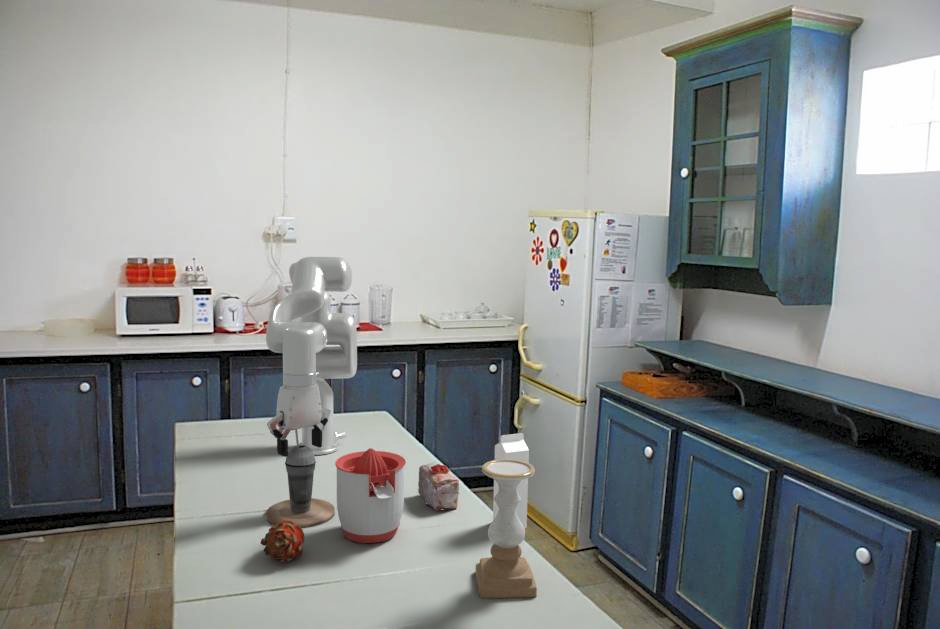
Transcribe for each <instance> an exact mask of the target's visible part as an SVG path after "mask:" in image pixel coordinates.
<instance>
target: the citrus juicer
mask: <svg viewBox="0 0 940 629" xmlns="http://www.w3.org/2000/svg"><path fill="white" fill-rule="evenodd" d="M406 463H407V462H406V458H404V457H403V456H402V455H400V454H397V453H395V452H394V453H393V452H389V451H384V450H382V451H380V450H375V449H374V448H372V447H370V448H368V449H367V450H364V451H356V452H350V453H348V454H344V455H342V456H340V457H338V458H336V461H335V464H334V465H335V466H336V467H335V468H336V509H337V515H338V519H339V522H340V527H341V530H342V532H343V535H344V536H345V537H346V538H347V539H348V540H350V541H353V542H356V543H358V544H374V543H380V542H384V541H388V540H390V539H392V538H393V537H395V535H396V534H397V532H398V529H399V526H400V524H401V519H402V515H403V511H404V506H405V465H406Z"/></svg>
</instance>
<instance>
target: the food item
mask: <svg viewBox="0 0 940 629" xmlns="http://www.w3.org/2000/svg"><path fill="white" fill-rule="evenodd" d="M418 469H419V470H418V484H417V485H418V488H417V489H418V490H417V491H418V494H419V496H421V497H422V498H424V503H427V504H428V505H427V504H426V505H427V506H430V507H431V508H433V509H434V511H442V510H441V509H450V510H456V509H455V508H458V502H459V495H460V481H459V479H458V478H456V477H455V476H454V475H452V473H451V472H450V470H449V468H448V466H447V465H445V464H440V463H434V462H433V463H426V464H422V465H420V466H419V467H418Z"/></svg>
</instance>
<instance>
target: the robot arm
mask: <svg viewBox="0 0 940 629" xmlns="http://www.w3.org/2000/svg"><path fill="white" fill-rule="evenodd" d="M288 269H289V270H288V274H289V280H290V282H291V284H292V285H291V290H290V293H289V294H288V295H286V296H285V297H284V298H282V299H281V300H279V302H277V303H276V304H275V305H274V306H273V307H272V309H271V311H270V313H269V316H268V320H267V324H266V325H267V326H266V330H265V331H266V332H265V333H266V334H265V341H266V342H265V343H266V346H267V348H268V349H269V351H271V352H273V353H276V354H277V353H278V354H282V385H281V386H280V387H279V390H278V394H277V399H276V400H277V401H276V410H275V411H276V412H275V413H276V415H274V417H272V418H271V419H270V420H268V421H267V422H266V426H267V428H268V429H269V431H270V434H271V435H273V437H274V438H275V439H276V452H277V454H278V455H280V456H281V457H286V456H288V452H289V440H288V439H287V437H288V435H289V433H290V432H291V431H295V430H296V429H297V430H300V429H301V442H299V445H304V446H307V447H309V448H310V449H311V450H312V451H313V453H314V455H315V456H320V455H328V454H333V453H334V452H336V451H337V450H339V443H338V442H337V441H339V439H340V440H341V439H345V438H346V437H347V435H346V432H345V431H342V432H336V431H334V392H333V389H332V387H331V386H330V385H329V383H328V382H327V381H326V380H330V379H331V380H335V379H336V380H337V379H340V380H342V379H345V380H346V379H351V378H354V377H355V375H356V373H357V369H358V338H357V333H358V332H357V322H356V319H355V317H354V316H353V315H352V314H350V313H347V312H345V313H344V312H332V310H331V307H332V304H331V303H332V302H331V301H332V300H331V295H330V294H329V292H338V293H339V292H341V293H342V292H343V293H344V292H347V291H348V290H349V289H350V288H351V286H352V282H353V274H352V273H353V272H352V268H351V265H350V263H349V262H348V260H346V259H345V258H343V257H340V256H339V257H338V256H305V257H303V258H300V259H299V260H298V261H296V262H294V263H291V264H290V266H289V268H288ZM300 318H301V321H293V320H296V319H300ZM328 345H329V346H330V347H329V346H328ZM333 345H334V346H333ZM336 346H337V347H336ZM339 346H340V347H339ZM277 427H278V428H277Z"/></svg>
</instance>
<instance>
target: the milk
mask: <svg viewBox="0 0 940 629" xmlns="http://www.w3.org/2000/svg"><path fill="white" fill-rule="evenodd" d="M524 436H525V435H524V433H522V432H520V433H513V434H503V435H500V438H499V439H500V441H499V442H498V443H496V444H495V445H494V460H498V459H514V460H520V461H524V462H527V463H529V464H530V462H529V460H530V450H529V447H528V446H527V443H526V442H525V440H524V439H525V438H524ZM528 487H529V478H527V479H524V480H521V482H520V483H519V484H518V486H517V493H518V495H519V496H520V498H521V501H520V503H518V506H517V507H516V514H517V516H518V518H519V520H520V521H521V523H522V525H523V527H524V529H527V526H528V525H527V524H528V499H529V498H528V495H529V494H528V492H529V491H528V489H529V488H528ZM498 491H499V486H498V483H497V482H496V480H495V479H493V505H492V507H493V508H492V510H493V511H492V521H493V520H494V518H495V517H496V515H497V513H498V511H499V508H498V505H497V502H495V500H494V497H495V496H496V495H497V493H498Z"/></svg>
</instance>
